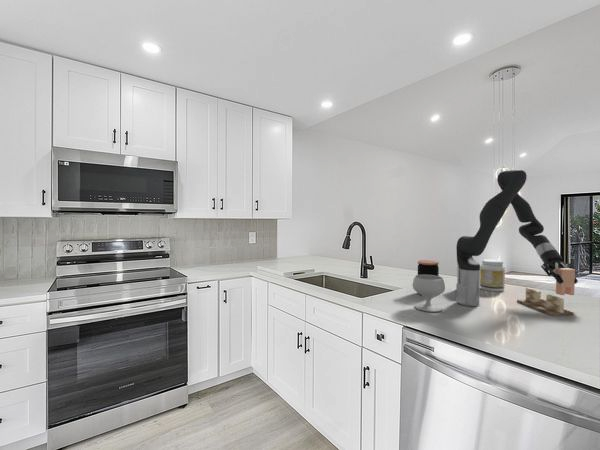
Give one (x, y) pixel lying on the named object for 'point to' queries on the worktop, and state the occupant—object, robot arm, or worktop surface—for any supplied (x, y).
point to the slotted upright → (566, 281)
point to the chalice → (428, 290)
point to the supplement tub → (492, 275)
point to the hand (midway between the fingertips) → (568, 282)
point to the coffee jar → (428, 267)
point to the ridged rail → (544, 303)
